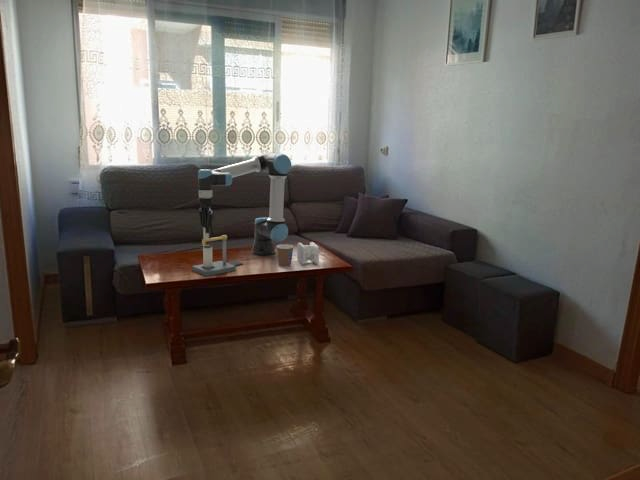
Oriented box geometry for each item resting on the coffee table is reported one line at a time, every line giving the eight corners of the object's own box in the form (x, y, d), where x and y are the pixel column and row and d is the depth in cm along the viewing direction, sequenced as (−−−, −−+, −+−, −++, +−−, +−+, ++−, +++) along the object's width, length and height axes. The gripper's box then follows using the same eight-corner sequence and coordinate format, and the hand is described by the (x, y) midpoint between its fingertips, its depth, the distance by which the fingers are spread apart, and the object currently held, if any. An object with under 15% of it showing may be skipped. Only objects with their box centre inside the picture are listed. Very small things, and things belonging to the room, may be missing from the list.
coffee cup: (290, 268, 298) (291, 248, 295) (273, 267, 299) (274, 247, 297) (295, 264, 307) (295, 244, 305) (278, 262, 309) (279, 243, 307)
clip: (225, 241, 293) (225, 234, 292) (228, 242, 291) (228, 235, 290) (201, 245, 282) (201, 238, 281) (204, 246, 280) (204, 239, 279)
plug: (209, 269, 290) (209, 243, 287) (215, 271, 286) (215, 245, 283) (200, 271, 286) (200, 245, 283) (206, 273, 282) (205, 247, 279)
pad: (235, 261, 308) (235, 260, 308) (243, 264, 303) (243, 263, 303) (224, 263, 303) (224, 262, 303) (231, 266, 297) (231, 265, 297)
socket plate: (220, 264, 301) (220, 236, 297) (235, 270, 290) (235, 241, 287) (192, 270, 288) (191, 240, 284) (206, 276, 277) (206, 245, 274)
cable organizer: (296, 259, 318) (296, 241, 315) (312, 259, 321) (313, 241, 318) (302, 266, 304) (303, 247, 301) (319, 265, 307) (320, 246, 304)
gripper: (193, 196, 288) (194, 237, 293) (206, 199, 278) (206, 241, 284) (205, 195, 293) (205, 235, 298) (217, 198, 284) (218, 239, 289)
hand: (206, 238), depth 291 cm, fingers closed
